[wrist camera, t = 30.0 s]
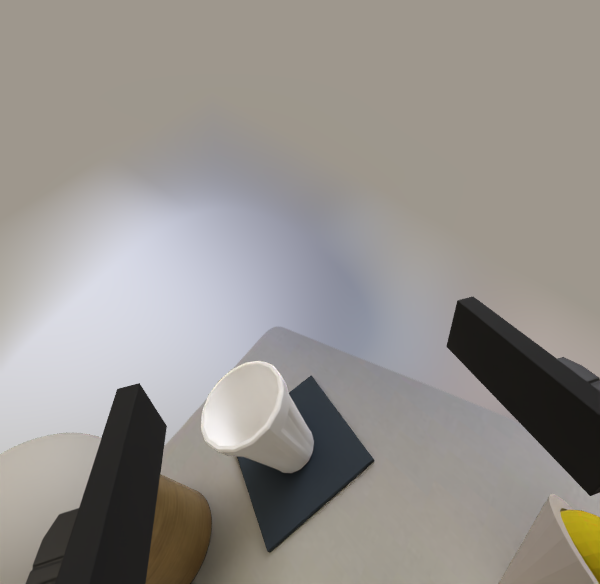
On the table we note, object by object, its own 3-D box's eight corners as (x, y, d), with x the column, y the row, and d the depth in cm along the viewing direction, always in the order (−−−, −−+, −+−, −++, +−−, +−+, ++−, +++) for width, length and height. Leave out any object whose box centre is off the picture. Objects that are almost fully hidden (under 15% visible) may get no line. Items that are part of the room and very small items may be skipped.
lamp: (255, 543, 33) (55, 472, 18) (156, 698, 28) (-244, 774, 13) (195, 462, 44) (38, 375, 29) (115, 563, 39) (-130, 519, 24)
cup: (293, 398, 44) (248, 347, 36) (344, 436, 37) (301, 384, 29) (246, 457, 41) (185, 415, 33) (293, 513, 34) (229, 476, 26)
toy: (448, 509, 29) (609, 440, 23) (527, 616, 26) (738, 569, 20) (435, 592, 21) (673, 521, 15) (545, 760, 18) (904, 756, 12)
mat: (312, 377, 46) (311, 375, 46) (374, 460, 34) (373, 459, 34) (233, 440, 44) (231, 438, 44) (269, 552, 32) (267, 551, 32)
